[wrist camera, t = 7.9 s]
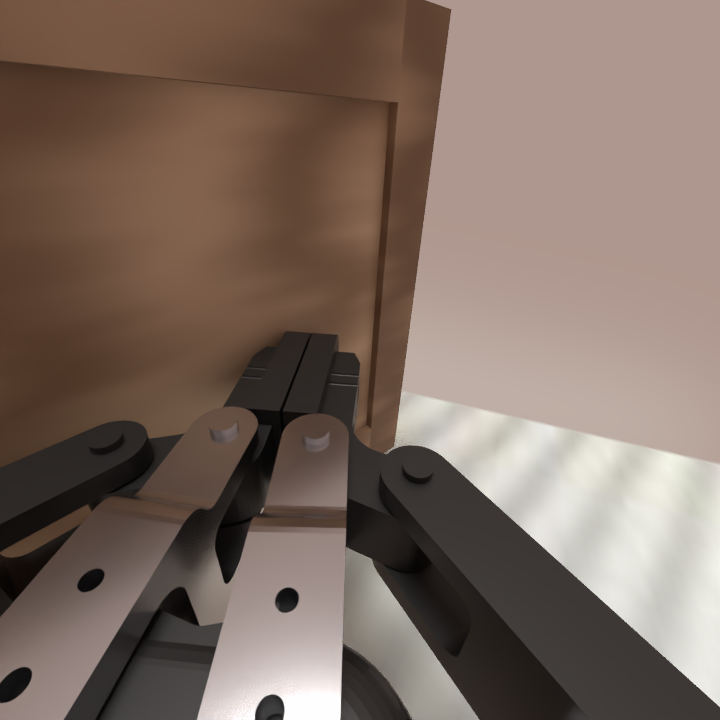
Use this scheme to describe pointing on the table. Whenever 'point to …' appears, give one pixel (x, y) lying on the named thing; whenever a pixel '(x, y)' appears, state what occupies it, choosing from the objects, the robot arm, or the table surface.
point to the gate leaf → (204, 204)
